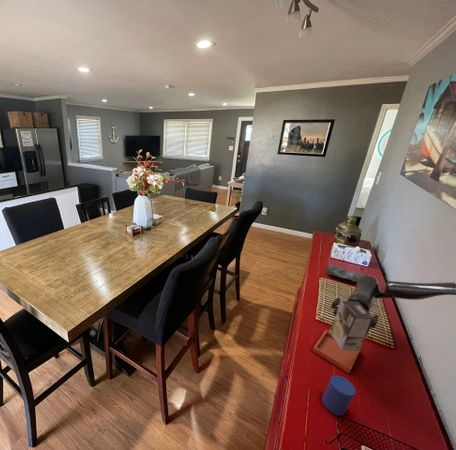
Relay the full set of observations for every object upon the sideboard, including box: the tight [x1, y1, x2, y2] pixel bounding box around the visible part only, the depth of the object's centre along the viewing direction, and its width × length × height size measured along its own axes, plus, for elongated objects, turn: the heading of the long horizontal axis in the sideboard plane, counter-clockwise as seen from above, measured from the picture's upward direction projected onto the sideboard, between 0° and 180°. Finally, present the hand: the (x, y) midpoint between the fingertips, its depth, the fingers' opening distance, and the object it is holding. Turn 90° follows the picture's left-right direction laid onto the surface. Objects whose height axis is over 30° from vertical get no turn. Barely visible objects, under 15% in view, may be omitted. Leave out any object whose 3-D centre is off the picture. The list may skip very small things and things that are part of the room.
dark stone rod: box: [325, 263, 365, 283], centre depth 145 cm, size 13×7×25 cm
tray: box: [312, 329, 361, 374], centre depth 98 cm, size 13×15×2 cm
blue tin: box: [321, 374, 356, 416], centre depth 77 cm, size 6×6×10 cm
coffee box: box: [328, 300, 375, 352], centre depth 89 cm, size 9×6×16 cm
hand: (348, 320), depth 91 cm, fingers closed on coffee box, 8 cm apart
